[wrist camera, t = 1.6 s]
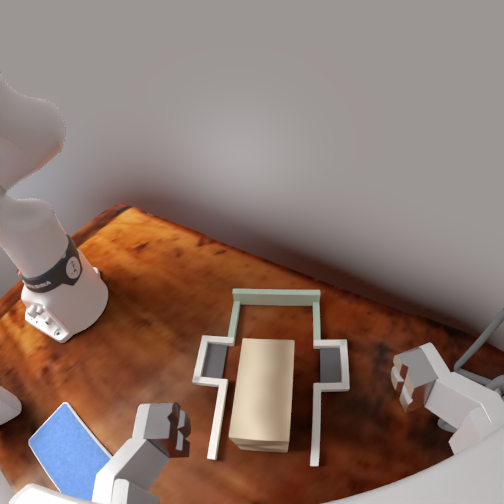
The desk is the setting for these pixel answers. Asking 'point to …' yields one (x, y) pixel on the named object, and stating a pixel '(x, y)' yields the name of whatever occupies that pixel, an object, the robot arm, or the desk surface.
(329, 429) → the desk surface
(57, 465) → the tablet computer
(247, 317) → the desk surface
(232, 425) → the maple block
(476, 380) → the newton's cradle
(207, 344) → the box
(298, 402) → the desk surface
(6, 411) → the photo printer
